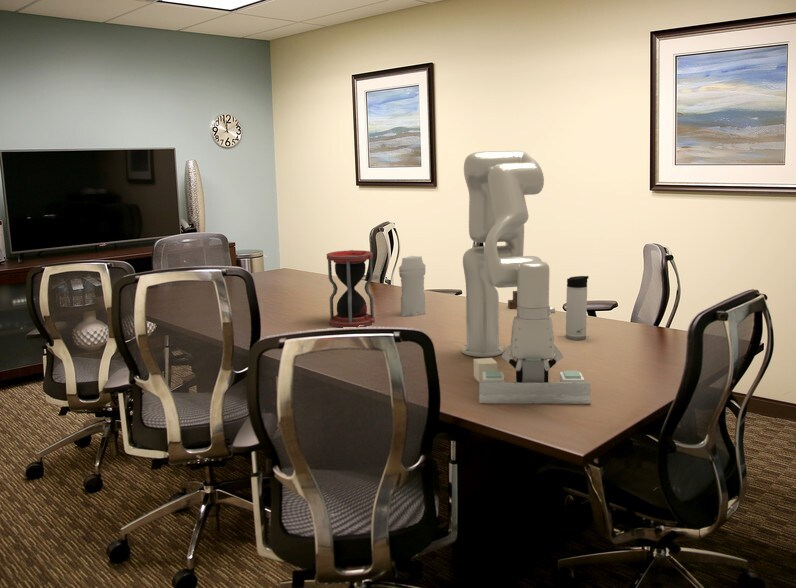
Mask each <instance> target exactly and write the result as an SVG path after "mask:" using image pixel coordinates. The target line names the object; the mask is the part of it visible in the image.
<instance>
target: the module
mask: <svg viewBox="0 0 796 588" xmlns="http://www.w3.org/2000/svg"><path fill="white" fill-rule="evenodd" d="M521 368H522V382H544V360H543V359H541V358H526V359H522V366H521Z"/></svg>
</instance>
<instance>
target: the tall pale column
mask: <svg viewBox="0 0 796 588" xmlns="http://www.w3.org/2000/svg"><path fill="white" fill-rule="evenodd" d="M401 259H402V260H401V265H400V266H399V267H398V272H399V273H398V274H399V278H400V286H401V296H400V313H401V314H400V316H401V317H405V318H406V317H416V316H420V315H425V314H426V295H425V291H424V290H425V275H426V264H425V263H424V261H423V257H422V256H418V255H409V256H406V257H402V258H401Z"/></svg>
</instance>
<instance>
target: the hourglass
mask: <svg viewBox="0 0 796 588" xmlns="http://www.w3.org/2000/svg"><path fill="white" fill-rule="evenodd" d="M373 254H374V253H373V252H372V251H369V250H355V249H349V250H339V251H332V252H331V251H330V252H328V253H326V261H327V269H328V279H329V280H328V281H329V282H330V283H331V285H332V288H333V290H332V294H331V295H330V296H329V312H330V315H329V317H330V318H329V324H330V325H331V326H332V327H336V328H342V327H356V328H359V327H358V326H359V325H364V327H367V325H368V326H372V325H373V324H374V323H375V322H376V318H375V313H374V312H375V310H374V309H375V308H374V296H373V294H372V293H371V292H370V289H369V287H370V283H371V282H372V281H373V280H372V279H373V278H374V277H373V257H374V256H373ZM367 260H368V272H369V273H368V275H369V277H368V280H367V281H366V282H365V284H364V292H365V294H367V295H368V297H369V305H370V306H369V307H370V310H369V311H370V313H367V312H368V305H367V302H366V300H365V299H364V297H363V296H362V294H360V293H359V291H357V290H356V289H355V288H356V287H357V285H359V283H360V282H361V281H362V280H363V278H364V276H365V274H366V263H365V262H367ZM332 262H333V263H334V271H335V275H336V277H337V278H338V280H339V281H340V282H341V283H342V284H343V285H344V286H345V287H346V288H347V289H346V290H345V292H344V293H343V294H342V295H341V296H340V297H339V298H338V301H337V303H336V315H334V297H335V296H336V294H337V293H338V286H337V283H336V282H335V281H334V279H333V276H332V275H333V273H332ZM372 323H373V324H372Z"/></svg>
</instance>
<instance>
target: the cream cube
mask: <svg viewBox="0 0 796 588" xmlns="http://www.w3.org/2000/svg"><path fill="white" fill-rule="evenodd" d="M486 371H498V362H497V361H496V360H495V359H494V358H493V357H481V358H473V378H474V379H475V380H476V381H477V382H478V383H479V382H483V372H486Z"/></svg>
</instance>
